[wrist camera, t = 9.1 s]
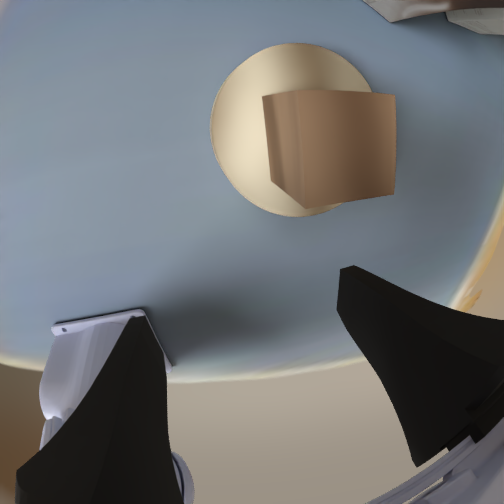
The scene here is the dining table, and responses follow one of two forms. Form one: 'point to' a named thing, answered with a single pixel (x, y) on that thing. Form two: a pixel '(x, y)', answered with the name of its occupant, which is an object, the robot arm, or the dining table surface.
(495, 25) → the supplement box
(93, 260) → the dining table surface
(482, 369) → the robot arm
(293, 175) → the walnut block
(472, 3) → the coffee box
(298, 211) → the birch board
